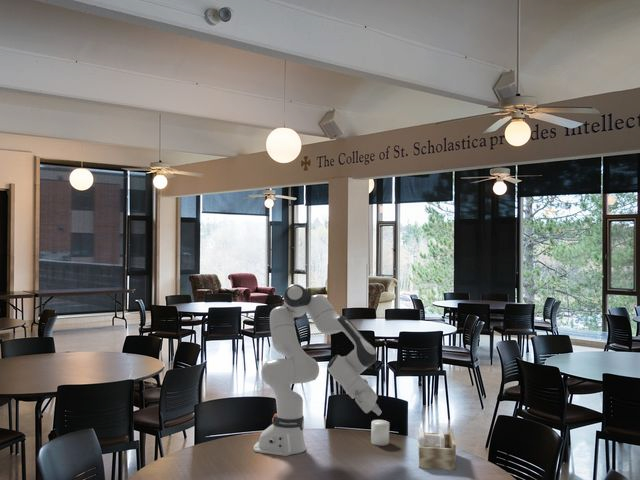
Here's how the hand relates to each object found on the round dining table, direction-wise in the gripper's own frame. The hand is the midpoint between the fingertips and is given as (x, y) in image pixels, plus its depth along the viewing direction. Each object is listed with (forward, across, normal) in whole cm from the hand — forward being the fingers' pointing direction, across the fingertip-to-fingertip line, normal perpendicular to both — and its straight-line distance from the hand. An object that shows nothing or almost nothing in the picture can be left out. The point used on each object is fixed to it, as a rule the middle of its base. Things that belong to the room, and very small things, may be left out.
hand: (380, 413), depth 253 cm
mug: (+11, +21, +15) cm, 28 cm away
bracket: (+29, +3, -3) cm, 30 cm away
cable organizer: (+28, +3, -2) cm, 28 cm away
